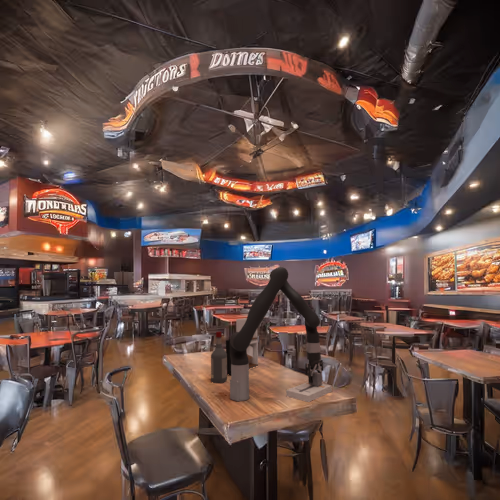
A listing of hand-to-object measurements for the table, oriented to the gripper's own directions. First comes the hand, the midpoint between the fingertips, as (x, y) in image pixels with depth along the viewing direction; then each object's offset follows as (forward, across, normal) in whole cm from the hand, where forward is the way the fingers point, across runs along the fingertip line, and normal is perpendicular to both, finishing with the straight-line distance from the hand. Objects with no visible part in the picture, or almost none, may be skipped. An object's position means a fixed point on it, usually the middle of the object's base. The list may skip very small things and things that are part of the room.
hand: (315, 381), depth 169 cm
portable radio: (+5, +5, -63) cm, 63 cm away
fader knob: (+2, 0, 0) cm, 2 cm away
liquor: (+5, +22, -56) cm, 60 cm away
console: (+5, +6, 0) cm, 8 cm away
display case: (+5, -15, -68) cm, 70 cm away
